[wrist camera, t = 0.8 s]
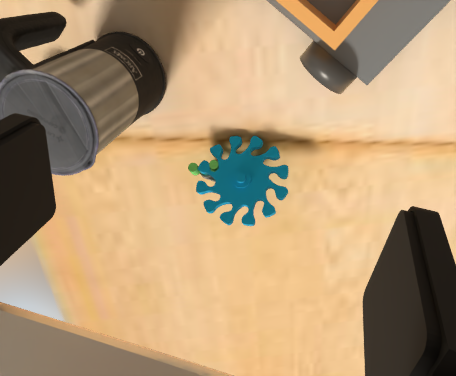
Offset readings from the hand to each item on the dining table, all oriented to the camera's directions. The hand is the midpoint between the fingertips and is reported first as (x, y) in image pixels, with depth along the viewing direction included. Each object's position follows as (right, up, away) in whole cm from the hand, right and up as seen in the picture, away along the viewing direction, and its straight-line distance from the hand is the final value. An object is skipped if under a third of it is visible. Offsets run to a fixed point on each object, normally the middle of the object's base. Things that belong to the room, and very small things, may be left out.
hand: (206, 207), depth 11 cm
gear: (+3, +3, +36) cm, 36 cm away
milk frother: (-14, +12, +36) cm, 40 cm away
